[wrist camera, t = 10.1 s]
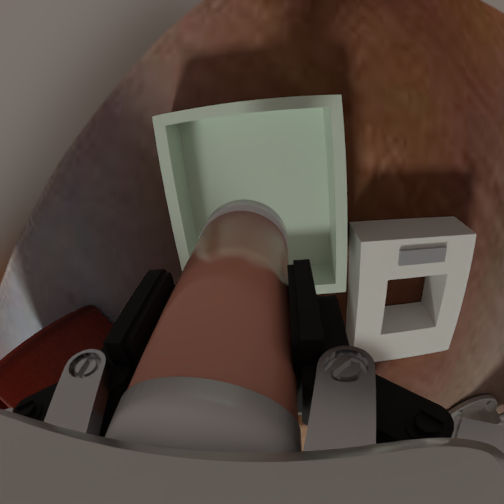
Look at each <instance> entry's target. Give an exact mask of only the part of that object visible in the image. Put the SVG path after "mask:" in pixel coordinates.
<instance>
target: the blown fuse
mask: <svg viewBox="0 0 504 504" xmlns="http://www.w3.org/2000/svg"><path fill="white" fill-rule="evenodd" d="M288 258H289V246H288V236H287V231H286V227H285V225H284V223H283V221H282V219H281V218H280V216H279V215H278V214H277V213H276V212H275V211H274V210H273V209H272V208H270V207H269V206H267V205H265V204H263V203H261V202H258V201H254V200H247V199H241V200H234V201H230V202H228V203H225V204H223V205H222V206H220V207H219V208H217V209H216V210H215V211H214V212H213V213H212V214H211V216H210V217H209V218H208V220H207V222H206V224H205V226H204V228H203V230H202V231H201V234H200V236H199V239H198V242H197V244H196V246H195V247H194V249H193V251H192V253H191V255H190V257H189V259H188V261H187V263H186V265H185V267H184V269H183V271H182V273H181V275H180V277H179V279H178V281H177V283H176V285H175V287H174V289H173V291H172V293H171V296H170V298H169V300H168V302H167V304H166V306H165V308H164V310H163V312H162V314H161V316H160V318H159V321H158V323H157V325H156V327H155V329H154V331H153V333H152V335H151V338H150V340H149V342H148V344H147V346H146V349H145V351H144V353H143V355H142V357H141V360H140V362H139V364H138V366H137V368H136V371H135V373H134V375H133V377H132V380H131V382H130V384H129V387H128V389H127V391H125V393H124V394H123V395H122V397H121V399H120V401H119V404H118V406H117V408H116V411H115V413H114V415H113V418H112V420H111V423H110V425H109V427H108V430H107V432H106V435H105V437H106V438H111V439H116V440H121V441H127V442H133V443H139V444H145V445H152V446H160V447H168V448H177V449H187V450H199V451H215V452H241V453H272V452H298V451H302V440H301V429H300V426H299V423H298V399H297V381H296V376H295V373H294V370H293V358H292V338H291V319H290V302H289V286H288V271H287V265H289V260H288Z"/></svg>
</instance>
